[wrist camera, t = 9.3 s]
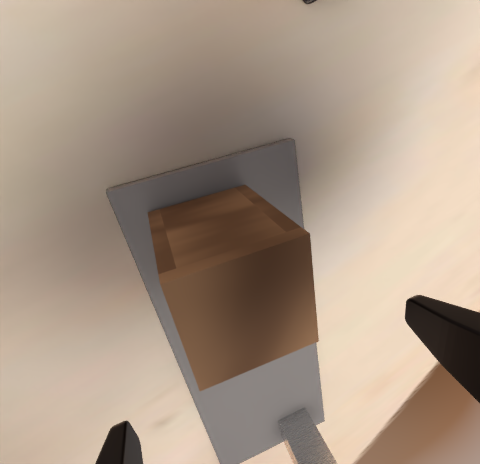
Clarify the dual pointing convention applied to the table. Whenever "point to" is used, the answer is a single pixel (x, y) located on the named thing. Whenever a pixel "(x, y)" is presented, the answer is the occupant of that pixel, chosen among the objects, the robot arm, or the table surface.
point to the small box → (308, 1)
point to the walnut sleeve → (234, 282)
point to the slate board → (141, 246)
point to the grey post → (304, 439)
